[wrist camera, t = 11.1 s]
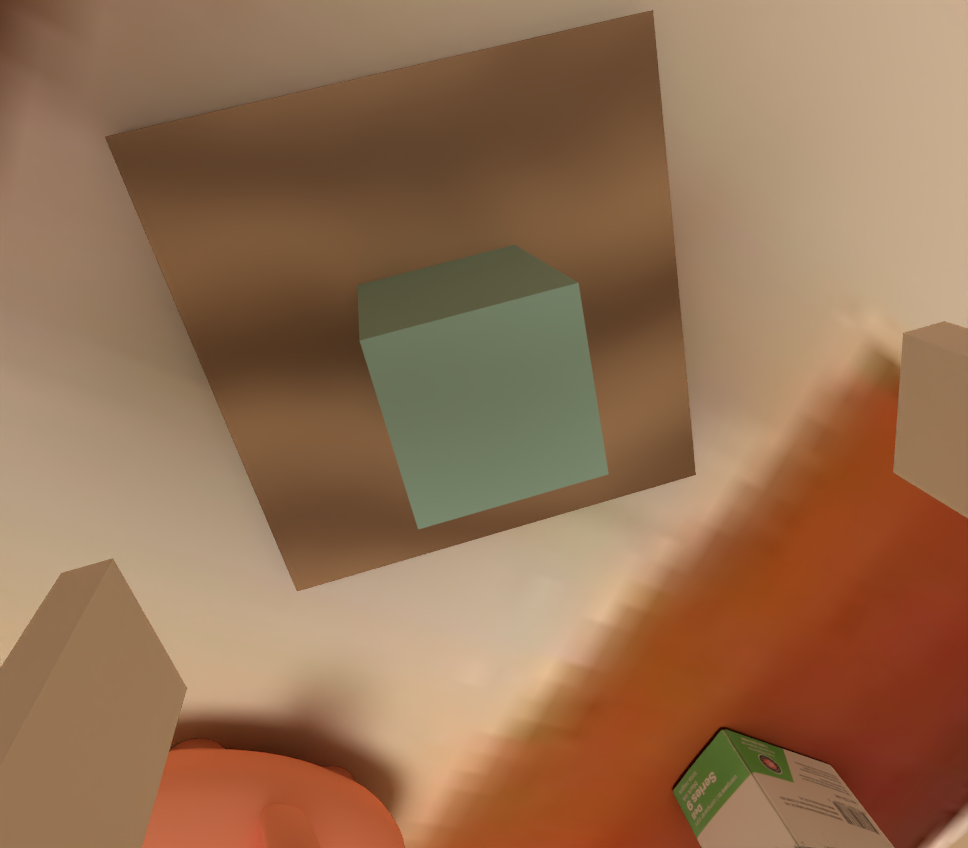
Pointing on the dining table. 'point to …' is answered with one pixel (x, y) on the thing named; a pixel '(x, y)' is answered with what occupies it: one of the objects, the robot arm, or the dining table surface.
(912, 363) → the robot arm
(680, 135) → the dining table surface
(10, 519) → the dining table surface
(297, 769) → the teapot
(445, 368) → the teal green block
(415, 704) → the dining table surface
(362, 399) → the post stand
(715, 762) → the ink box
